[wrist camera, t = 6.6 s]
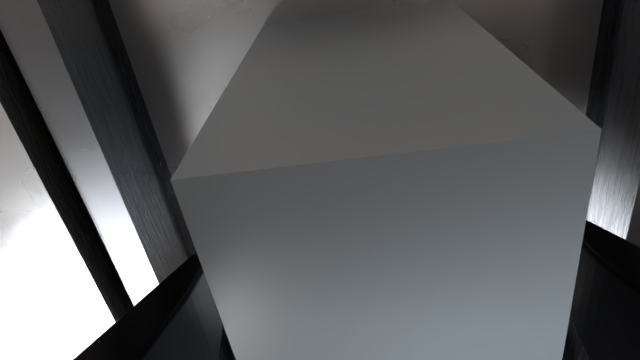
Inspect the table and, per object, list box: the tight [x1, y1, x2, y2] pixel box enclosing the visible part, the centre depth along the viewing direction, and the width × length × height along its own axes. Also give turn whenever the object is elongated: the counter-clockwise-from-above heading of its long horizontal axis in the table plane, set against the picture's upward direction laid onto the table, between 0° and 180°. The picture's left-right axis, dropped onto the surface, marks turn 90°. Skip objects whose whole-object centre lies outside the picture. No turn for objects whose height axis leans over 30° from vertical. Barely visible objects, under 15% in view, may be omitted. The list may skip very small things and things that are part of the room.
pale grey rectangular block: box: [170, 0, 602, 360], centre depth 8 cm, size 4×8×6 cm, turn 9°
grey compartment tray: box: [0, 0, 640, 360], centre depth 11 cm, size 22×14×3 cm, turn 98°
